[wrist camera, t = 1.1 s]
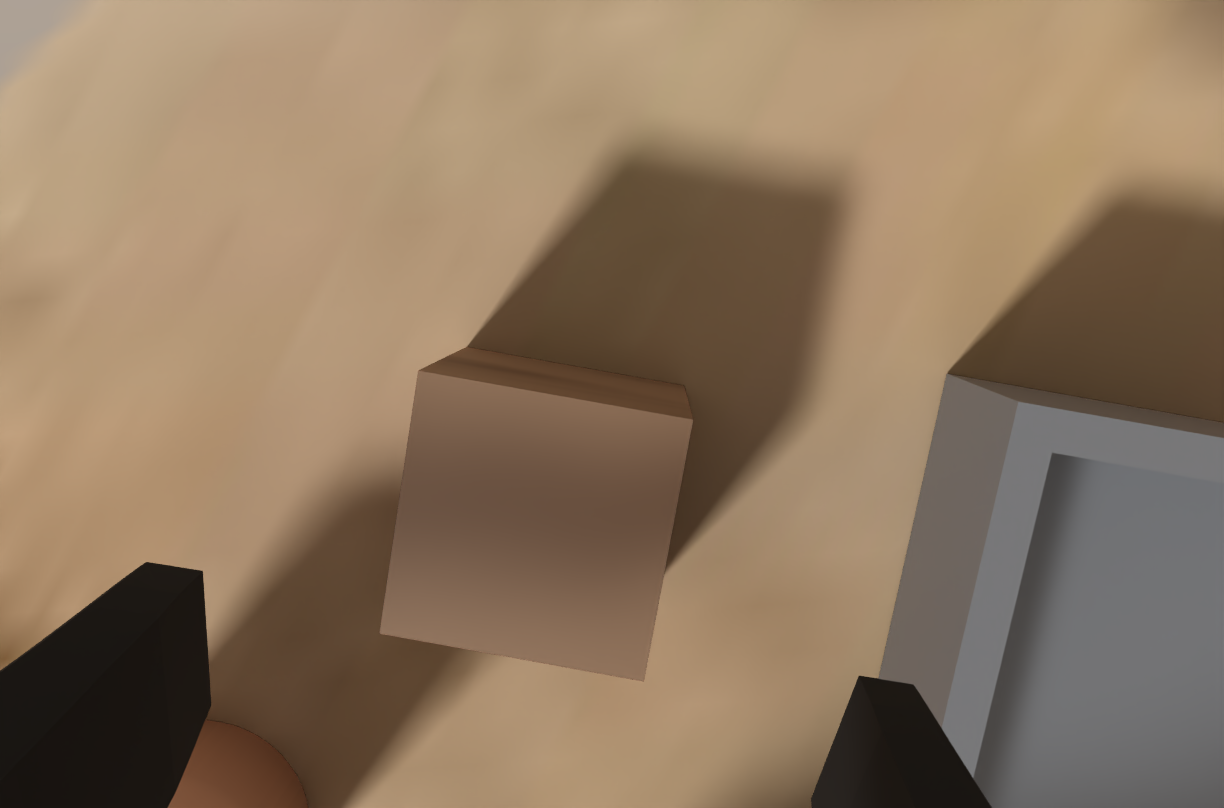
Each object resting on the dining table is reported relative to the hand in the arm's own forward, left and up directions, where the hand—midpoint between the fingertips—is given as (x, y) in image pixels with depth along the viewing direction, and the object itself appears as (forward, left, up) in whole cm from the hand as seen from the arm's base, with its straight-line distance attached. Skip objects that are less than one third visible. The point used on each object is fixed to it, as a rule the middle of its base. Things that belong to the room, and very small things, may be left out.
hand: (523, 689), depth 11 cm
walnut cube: (0, +1, -12) cm, 12 cm away
